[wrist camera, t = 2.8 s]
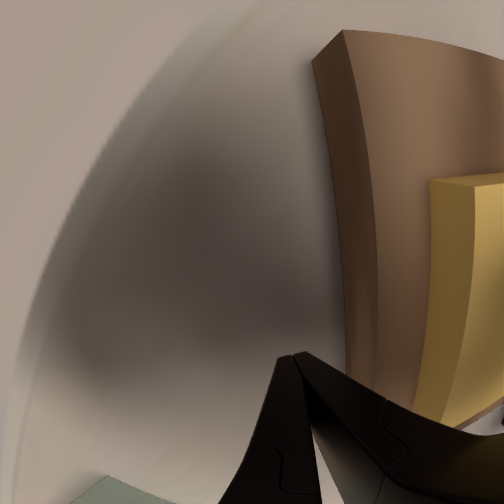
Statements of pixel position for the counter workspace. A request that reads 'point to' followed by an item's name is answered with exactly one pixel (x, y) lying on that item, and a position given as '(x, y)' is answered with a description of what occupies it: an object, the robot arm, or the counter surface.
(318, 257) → the counter surface
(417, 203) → the brown flat block
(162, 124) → the counter surface
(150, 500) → the right angle wall
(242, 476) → the robot arm
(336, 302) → the counter surface
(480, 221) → the yellow flat block
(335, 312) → the counter surface
